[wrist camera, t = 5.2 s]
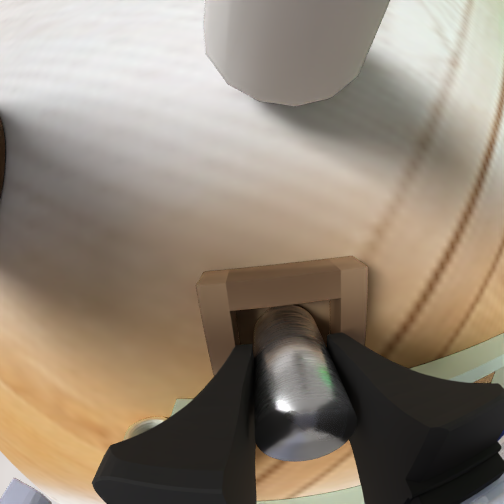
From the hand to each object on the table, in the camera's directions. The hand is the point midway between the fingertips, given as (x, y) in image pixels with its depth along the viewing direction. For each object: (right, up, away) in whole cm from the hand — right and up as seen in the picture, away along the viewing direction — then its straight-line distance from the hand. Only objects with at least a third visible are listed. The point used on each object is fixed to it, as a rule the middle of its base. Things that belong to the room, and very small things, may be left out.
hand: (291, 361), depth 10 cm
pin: (0, +1, +2) cm, 2 cm away
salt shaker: (0, +12, 0) cm, 12 cm away
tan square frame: (0, +1, +2) cm, 2 cm away
